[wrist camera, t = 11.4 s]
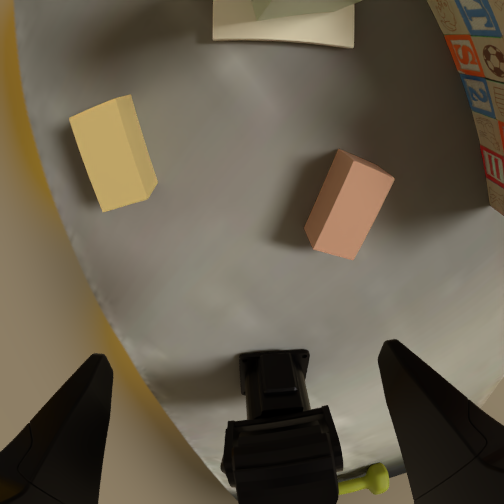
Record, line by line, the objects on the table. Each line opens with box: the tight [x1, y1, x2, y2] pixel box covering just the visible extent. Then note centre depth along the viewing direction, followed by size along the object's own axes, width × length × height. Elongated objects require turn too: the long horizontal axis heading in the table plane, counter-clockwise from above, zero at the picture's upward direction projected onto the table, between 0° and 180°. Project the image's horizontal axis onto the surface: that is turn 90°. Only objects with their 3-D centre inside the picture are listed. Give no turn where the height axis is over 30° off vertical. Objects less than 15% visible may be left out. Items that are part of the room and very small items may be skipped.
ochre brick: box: [69, 95, 158, 212], centre depth 17 cm, size 6×3×3 cm, turn 12°
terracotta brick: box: [304, 149, 395, 260], centre depth 20 cm, size 6×3×3 cm, turn 162°
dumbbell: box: [338, 463, 389, 495], centre depth 50 cm, size 16×8×7 cm, turn 96°
